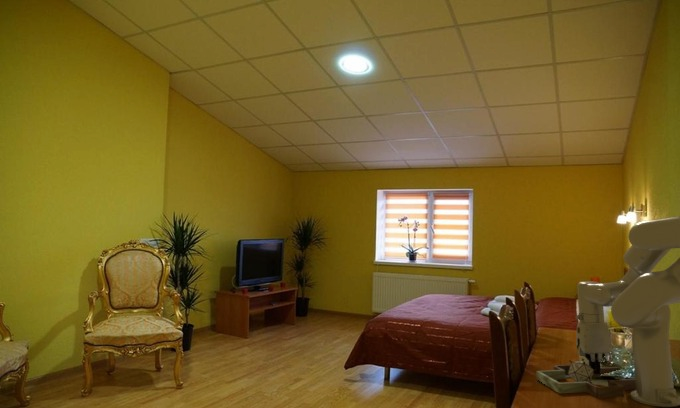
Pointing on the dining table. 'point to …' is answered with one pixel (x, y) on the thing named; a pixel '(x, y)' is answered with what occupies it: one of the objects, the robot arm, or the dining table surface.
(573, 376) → the game die
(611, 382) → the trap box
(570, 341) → the dining table surface
